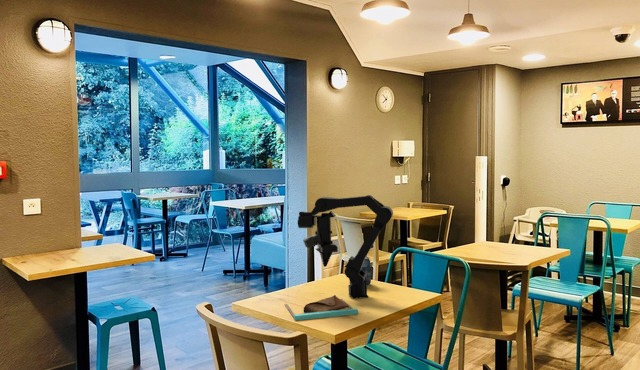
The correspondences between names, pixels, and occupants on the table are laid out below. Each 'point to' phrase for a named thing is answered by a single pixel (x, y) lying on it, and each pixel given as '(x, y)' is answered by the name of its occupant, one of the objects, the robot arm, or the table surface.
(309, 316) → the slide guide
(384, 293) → the table surface
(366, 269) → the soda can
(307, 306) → the sunglasses case
